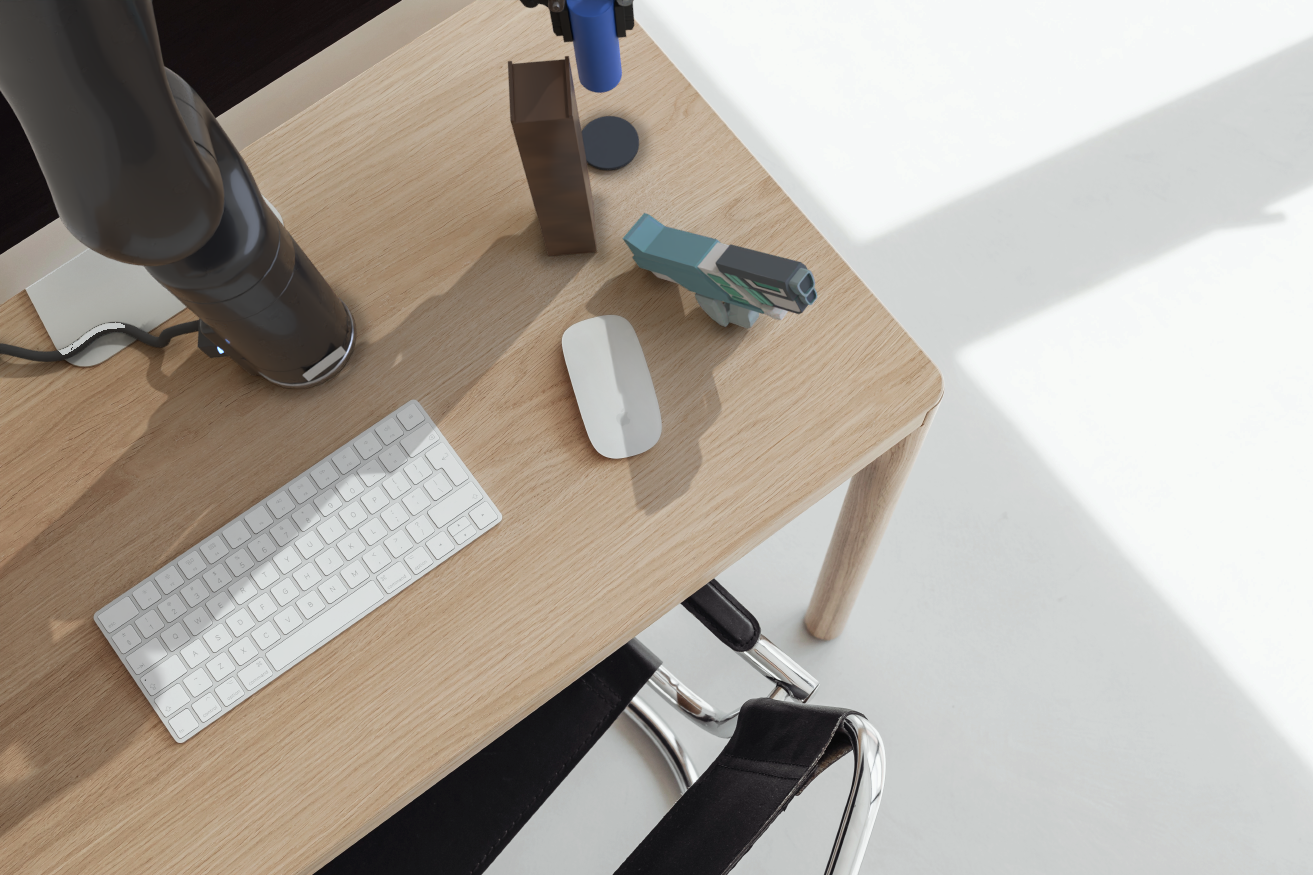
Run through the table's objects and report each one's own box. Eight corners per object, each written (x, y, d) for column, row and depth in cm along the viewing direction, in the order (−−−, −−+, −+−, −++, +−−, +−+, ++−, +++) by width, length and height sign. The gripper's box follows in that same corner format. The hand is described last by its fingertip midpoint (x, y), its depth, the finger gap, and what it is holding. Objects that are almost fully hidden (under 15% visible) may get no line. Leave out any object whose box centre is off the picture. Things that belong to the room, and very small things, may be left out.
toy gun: (831, 371, 79) (783, 286, 72) (671, 316, 92) (618, 240, 85) (857, 337, 80) (812, 250, 73) (695, 287, 93) (644, 209, 86)
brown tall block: (548, 256, 90) (510, 121, 70) (545, 207, 91) (507, 61, 72) (597, 252, 90) (572, 115, 70) (593, 203, 91) (568, 55, 72)
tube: (565, -22, 75) (566, 19, 74) (613, -25, 75) (615, 15, 74) (577, 57, 83) (579, 94, 82) (620, 54, 83) (623, 91, 82)
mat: (580, 173, 92) (580, 170, 92) (577, 121, 94) (576, 118, 93) (641, 168, 92) (641, 165, 92) (636, 116, 94) (636, 113, 93)
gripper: (456, -102, 61) (506, 79, 77) (690, -123, 60) (689, 63, 77) (454, -197, 63) (502, -1, 79) (679, -217, 63) (681, -17, 79)
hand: (594, 30), depth 78 cm, fingers closed on tube, 3 cm apart
